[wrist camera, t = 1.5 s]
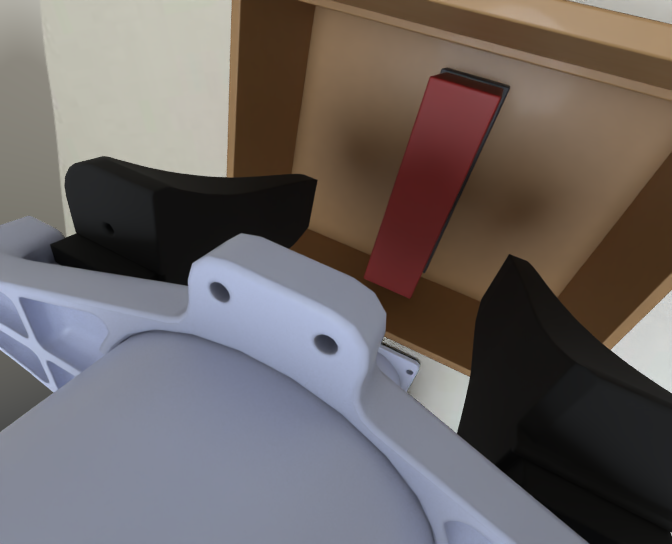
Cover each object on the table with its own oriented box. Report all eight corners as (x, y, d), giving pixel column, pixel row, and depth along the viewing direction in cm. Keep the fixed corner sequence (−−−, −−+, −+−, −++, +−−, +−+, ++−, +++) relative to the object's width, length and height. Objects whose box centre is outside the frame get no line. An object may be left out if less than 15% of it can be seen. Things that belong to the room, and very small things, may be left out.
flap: (12, -103, 7) (7, -129, 7) (221, -29, 12) (221, -43, 12) (1392, 240, 3) (1468, 205, 3) (850, 137, 8) (866, 122, 8)
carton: (282, 219, 25) (223, 261, 20) (313, -7, 17) (232, -32, 12) (538, 328, 21) (546, 413, 16) (720, 100, 14) (840, 126, 9)
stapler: (428, 264, 22) (410, 308, 18) (383, 245, 22) (356, 284, 18) (510, 85, 16) (509, 95, 12) (445, 66, 16) (425, 70, 13)
